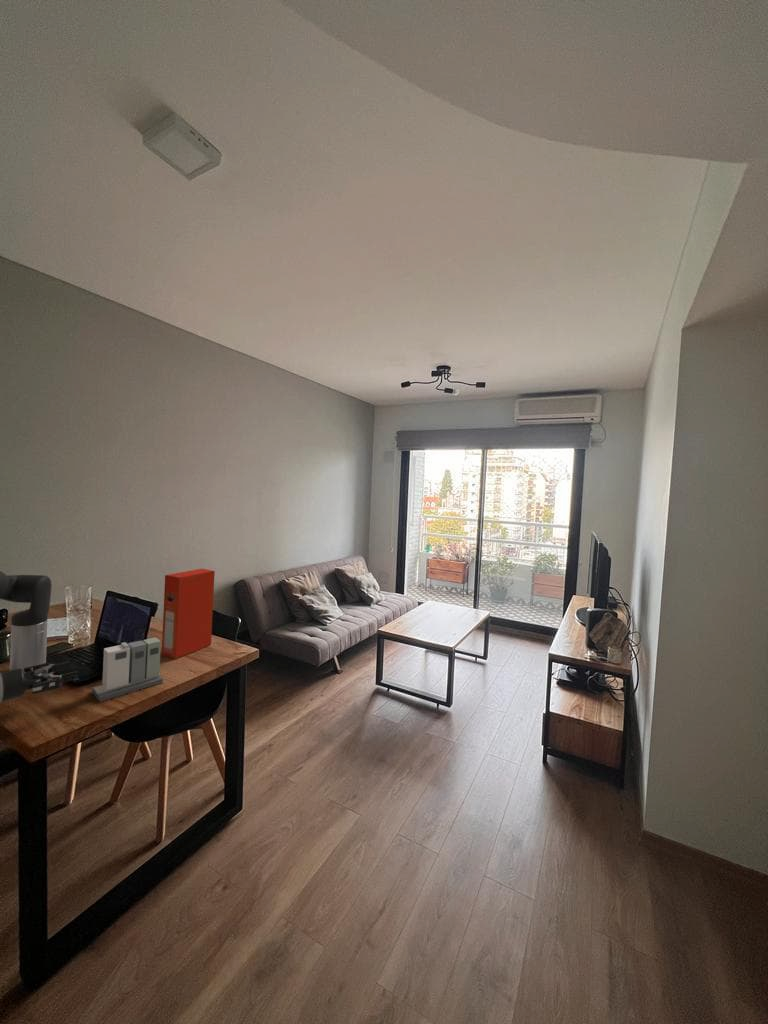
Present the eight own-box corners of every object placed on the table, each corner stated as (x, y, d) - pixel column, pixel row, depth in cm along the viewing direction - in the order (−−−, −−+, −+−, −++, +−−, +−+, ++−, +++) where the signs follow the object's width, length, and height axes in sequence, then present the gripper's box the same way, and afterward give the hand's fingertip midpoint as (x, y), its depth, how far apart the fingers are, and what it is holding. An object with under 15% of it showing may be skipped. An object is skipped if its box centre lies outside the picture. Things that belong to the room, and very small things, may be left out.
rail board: (92, 692, 126) (93, 648, 125) (153, 674, 140) (155, 635, 139) (99, 702, 121) (101, 656, 120) (162, 683, 135) (164, 642, 134)
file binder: (161, 654, 156) (165, 574, 155) (197, 640, 172) (201, 568, 170) (175, 659, 153) (179, 577, 151) (210, 645, 169) (215, 571, 167)
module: (102, 685, 126) (104, 645, 126) (123, 679, 131) (125, 641, 130) (106, 690, 123) (108, 650, 123) (128, 684, 128) (130, 645, 127)
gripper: (3, 683, 101) (81, 665, 114) (-5, 665, 110) (68, 650, 123) (2, 712, 102) (80, 690, 114) (-6, 691, 111) (67, 673, 123)
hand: (73, 669), depth 118 cm, fingers open, 8 cm apart
